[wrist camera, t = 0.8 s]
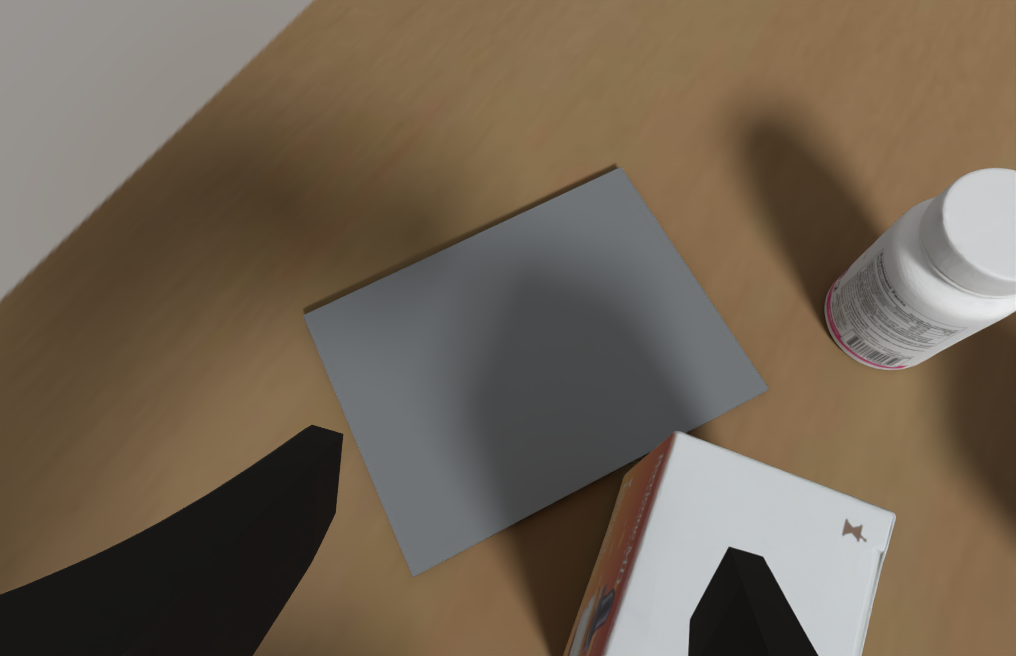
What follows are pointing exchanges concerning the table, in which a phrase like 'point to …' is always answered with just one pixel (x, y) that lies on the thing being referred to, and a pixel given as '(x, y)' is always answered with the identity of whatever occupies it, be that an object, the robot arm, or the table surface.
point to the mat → (525, 365)
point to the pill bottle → (931, 275)
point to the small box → (705, 539)
